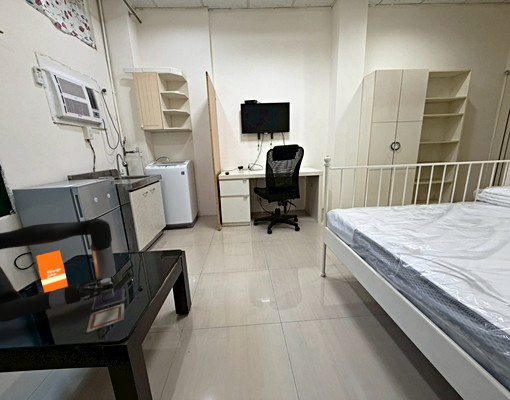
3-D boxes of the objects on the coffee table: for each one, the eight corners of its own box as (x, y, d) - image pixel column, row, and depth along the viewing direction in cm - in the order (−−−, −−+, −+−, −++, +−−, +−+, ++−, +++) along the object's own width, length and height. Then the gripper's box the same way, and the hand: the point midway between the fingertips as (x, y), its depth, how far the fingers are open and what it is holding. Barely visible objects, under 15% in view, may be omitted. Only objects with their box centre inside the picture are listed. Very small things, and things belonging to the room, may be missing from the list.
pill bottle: (106, 294, 102) (103, 277, 101) (116, 293, 103) (113, 277, 101) (99, 300, 98) (96, 283, 96) (110, 299, 98) (107, 282, 96)
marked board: (86, 333, 80) (86, 331, 80) (91, 314, 91) (90, 313, 91) (123, 320, 86) (123, 319, 86) (124, 304, 97) (124, 303, 96)
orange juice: (44, 291, 110) (35, 254, 107) (66, 283, 117) (59, 248, 113) (45, 297, 105) (36, 258, 102) (68, 288, 111) (61, 252, 108)
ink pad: (92, 310, 93) (91, 307, 93) (95, 298, 102) (94, 295, 102) (124, 300, 99) (123, 297, 99) (124, 290, 108) (124, 287, 107)
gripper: (59, 296, 85) (111, 282, 94) (68, 280, 98) (113, 269, 106) (63, 313, 87) (113, 298, 95) (71, 295, 99) (115, 283, 107)
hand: (113, 283), depth 100 cm, fingers closed on pill bottle, 4 cm apart
